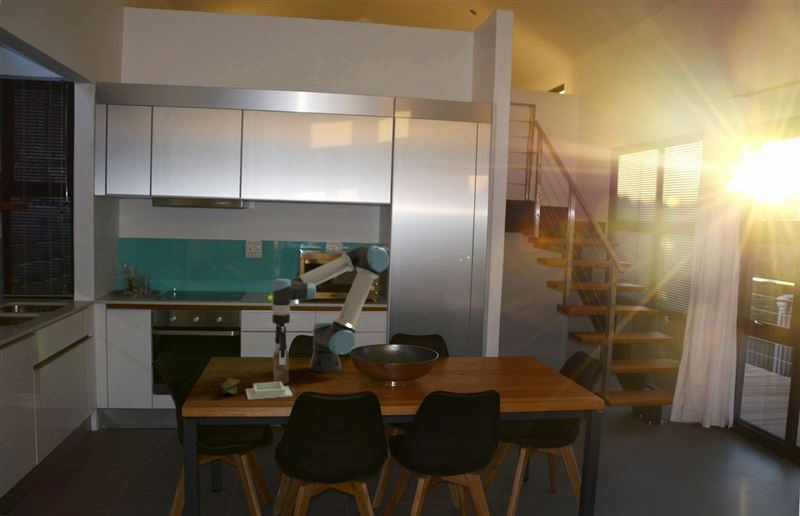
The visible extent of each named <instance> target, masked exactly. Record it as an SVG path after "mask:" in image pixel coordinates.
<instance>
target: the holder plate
mask: <svg viewBox="0 0 800 516" xmlns="http://www.w3.org/2000/svg"><path fill="white" fill-rule="evenodd" d="M245 393H246V397H247V401H248V400H249V401H251V400H262V399H263V400H264V399H276V398H277V397H279V398H287V397H289V398H292V397H294V396H293V393H292V391H291V390H290V387H289V385H284V384H282V382H274V381H269V382H258V383H257V382H255V383H252V388H245ZM277 399H278V398H277Z"/></svg>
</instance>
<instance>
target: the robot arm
mask: <svg viewBox="0 0 800 516" xmlns="http://www.w3.org/2000/svg"><path fill="white" fill-rule="evenodd" d="M386 250H387V249H385V248H383V247H380V246H378V245H367V244H366V245H365V244H363V245H359V246H357V247H354V248H352V249H351V250H348V251H345V252H344V253H342V254H341V256H340V257H338V258H335V259H333V260H330V261H329V262H327V263H324V264H322V265H320V266H318V267H316V268H314V269H311V270H309V271H307V272H305V273H303V274H300V275H298V276H296V277H294V278H292V279H290V278H276V279H274V280H273V283H272V306H271V308H270V309H271V310H272V321H271V322H272V323H273V324H275V325H276V326H275V337H274V342H275V347H274V348H275V350H274V351H279V365H286V350H287V332H286V331H287V327H286V326H285V324H289V323H290V321H291V320H290V319H291V315H290V313H291V301H298V300H299V301H301V300H302V301H303V300H305V301H306V300H307V301H308V300H312V299H313V300H314V299H315V298H316V295H317V288H316V286H318V285H320V284H322V283H324V282H327V281H329V280H330V279H333V278H335V277H337V276H339V275H341V274H344V273H345V272H353V271H356V275H355V278H354V280H353V282H352V285H351V287H350V288H349V289H350V290H349V292H348V294H347V297H346V299H345V302H344V304H343V306H342V309H341V310H340V313H339V315H338V317H337V319H334V320H333V321H321V322H316V323H315V322H314V324H313V330H312V332H313V338H312V339H313V340H312V341H313V346H312V347H313V349H312V350H313V351H312V352H313V353H312V357H311V359H310V363H309V370H310V371H312V372H316V373H317V372H318V373H330V372H337V371H340V370H341V367H342V365H341V364H342V363H341V361H340V358H339V355H346V354H348V353H350V352H351V351H353V349H354V347H355V346H356V337H355V334H356V332H357V329H356V326H355V325H356V324H357V321H358V319H359V316H360V314H361V312H362V309H363V306H364V304H365V301H366V300H367V297H368V295H369V293H370V290H371V288H372V285H373V283H374V281H375V280H377V279H378V278H379V277H380V275H381V272H383V271H385V270H386V269H387V268H388V266H389V265H390V264H389V263H390V256H389V254H388V252H387V251H386Z"/></svg>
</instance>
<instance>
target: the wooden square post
mask: <svg viewBox="0 0 800 516" xmlns="http://www.w3.org/2000/svg"><path fill="white" fill-rule="evenodd" d="M289 354H290V353H289V351H288V350H287V349H286V365H279V351H275V350H274V351H273V382H282V384H283V385H287V384H286V383H289V377H290V376H289V375H290V373H289V365H290V364H289V363H290V362H289V361H290V360H289Z"/></svg>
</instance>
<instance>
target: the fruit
mask: <svg viewBox="0 0 800 516" xmlns="http://www.w3.org/2000/svg"><path fill="white" fill-rule="evenodd" d="M240 382H241V379H238V378H232V377H228V378H227V380H226V381H224V382H222V383H221V385H220V386H221V389H222V395H225V394H231V395H237V394H238V393H239V388H238V385H239V384H240Z"/></svg>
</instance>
